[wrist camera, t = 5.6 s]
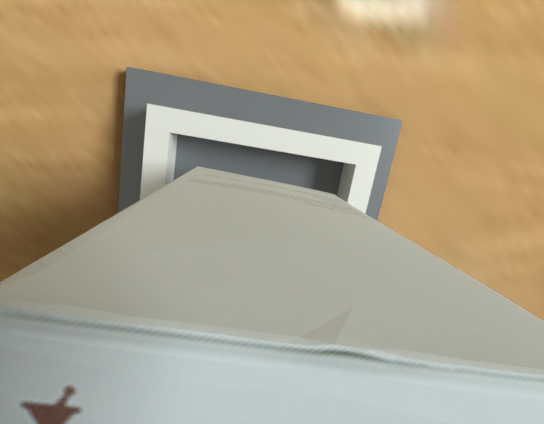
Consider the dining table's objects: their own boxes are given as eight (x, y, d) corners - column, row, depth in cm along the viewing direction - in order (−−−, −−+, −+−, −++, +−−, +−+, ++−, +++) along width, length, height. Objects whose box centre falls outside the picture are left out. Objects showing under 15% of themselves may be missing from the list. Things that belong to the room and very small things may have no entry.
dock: (340, 342, 23) (354, 369, 20) (115, 320, 20) (96, 348, 18) (396, 121, 19) (421, 118, 16) (131, 69, 17) (110, 56, 14)
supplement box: (171, 300, 16) (-72, 826, 4) (195, 162, 14) (-84, 281, 2) (305, 321, 17) (461, 793, 5) (341, 193, 15) (709, 399, 3)
